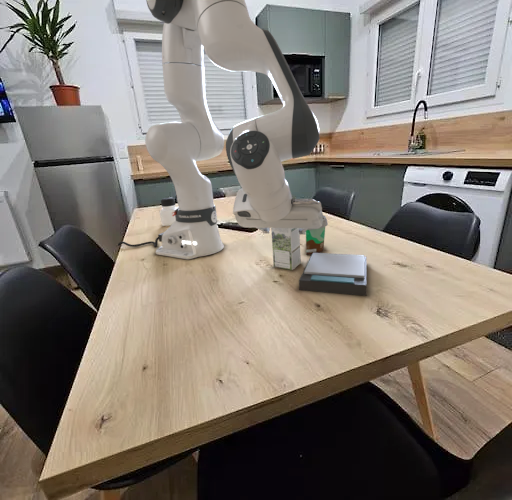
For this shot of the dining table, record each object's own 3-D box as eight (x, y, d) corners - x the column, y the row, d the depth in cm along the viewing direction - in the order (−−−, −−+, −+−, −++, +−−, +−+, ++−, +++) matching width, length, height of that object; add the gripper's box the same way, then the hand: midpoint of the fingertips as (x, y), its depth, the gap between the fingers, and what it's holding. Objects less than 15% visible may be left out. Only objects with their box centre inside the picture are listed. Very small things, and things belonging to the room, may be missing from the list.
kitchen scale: (299, 290, 66) (299, 277, 65) (311, 262, 81) (311, 251, 80) (366, 295, 61) (366, 282, 60) (366, 265, 76) (366, 254, 75)
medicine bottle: (177, 225, 134) (172, 198, 131) (161, 226, 135) (157, 200, 131) (181, 221, 141) (177, 196, 137) (166, 222, 141) (162, 197, 138)
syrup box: (301, 263, 81) (300, 210, 76) (292, 271, 76) (290, 216, 71) (282, 260, 84) (280, 209, 79) (272, 267, 79) (269, 214, 74)
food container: (328, 256, 84) (328, 222, 81) (306, 256, 85) (305, 222, 82) (327, 243, 95) (327, 212, 92) (307, 243, 97) (307, 213, 93)
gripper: (321, 187, 62) (327, 221, 73) (232, 189, 68) (250, 220, 80) (319, 212, 59) (324, 244, 71) (226, 212, 66) (245, 241, 78)
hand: (284, 231), depth 76 cm, fingers open, 8 cm apart
